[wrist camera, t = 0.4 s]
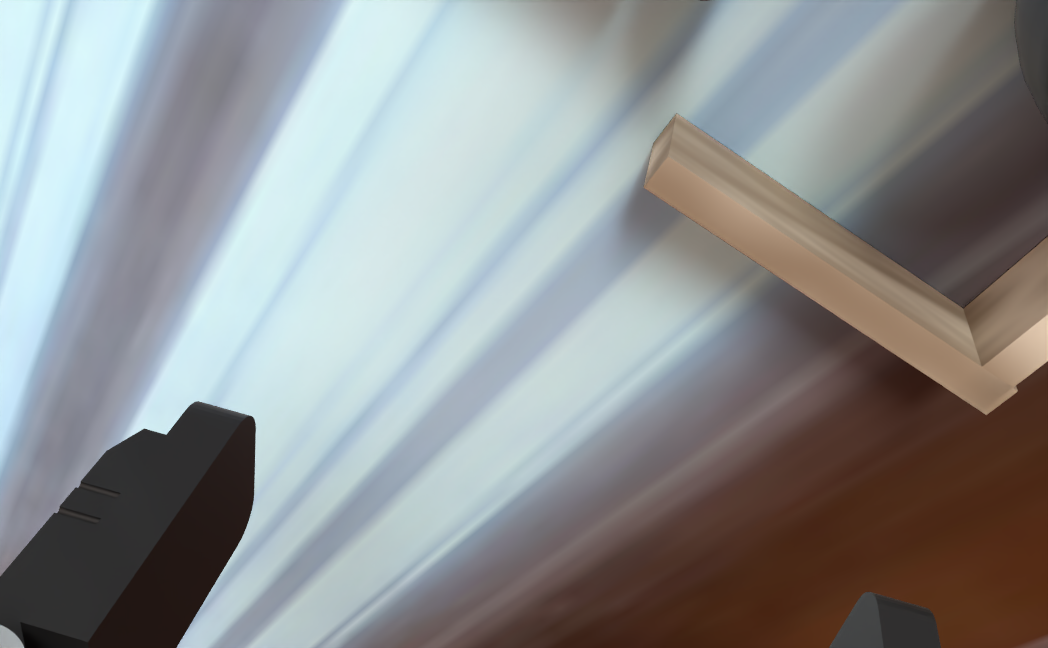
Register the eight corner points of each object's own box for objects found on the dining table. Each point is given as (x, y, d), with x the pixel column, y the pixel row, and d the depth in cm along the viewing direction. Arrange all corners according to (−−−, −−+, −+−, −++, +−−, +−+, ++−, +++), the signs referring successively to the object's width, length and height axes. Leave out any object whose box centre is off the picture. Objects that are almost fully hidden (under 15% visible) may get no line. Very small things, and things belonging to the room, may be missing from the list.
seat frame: (938, -228, 29) (960, -215, 26) (1315, 70, 31) (1380, 116, 28) (653, 143, 37) (643, 187, 34) (967, 354, 40) (986, 414, 36)
